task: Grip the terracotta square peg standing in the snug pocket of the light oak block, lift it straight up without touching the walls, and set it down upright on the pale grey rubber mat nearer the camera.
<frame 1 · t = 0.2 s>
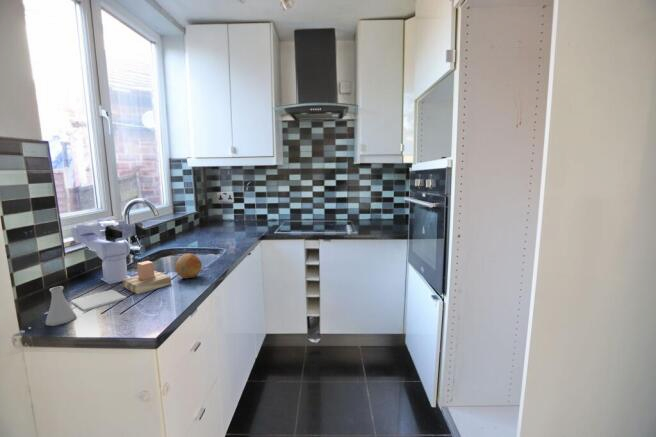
hand: (133, 233, 112), 21 cm above the counter, tool horizontal, fingers open, 7 cm apart
pocket block: (147, 285, 120), on the counter
onion: (189, 278, 128), on the counter
peg: (146, 274, 119), in the pocket block
flask: (61, 321, 93), on the counter
mat: (99, 300, 107), on the counter
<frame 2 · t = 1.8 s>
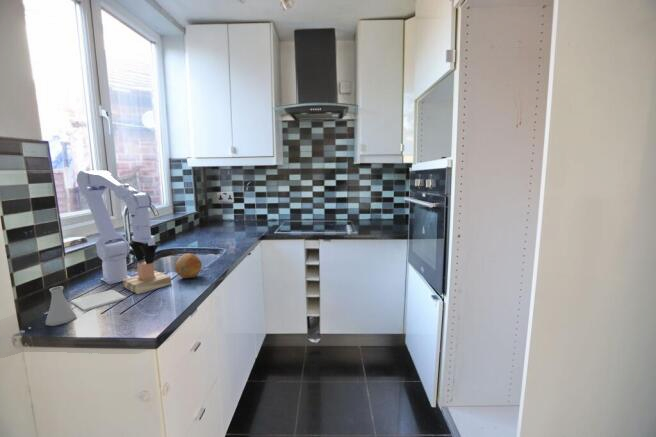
hand: (145, 261, 119), 9 cm above the counter, tool pointing down, fingers open, 7 cm apart
nothing on the counter moved.
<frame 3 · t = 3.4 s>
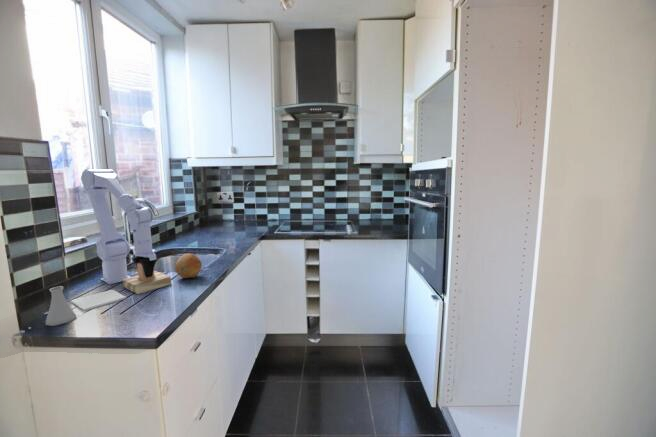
hand: (146, 275, 119), 4 cm above the counter, tool pointing down, fingers closed on peg, 4 cm apart
peg: (146, 274, 119), in the pocket block, touching gripper
everything else where it was.
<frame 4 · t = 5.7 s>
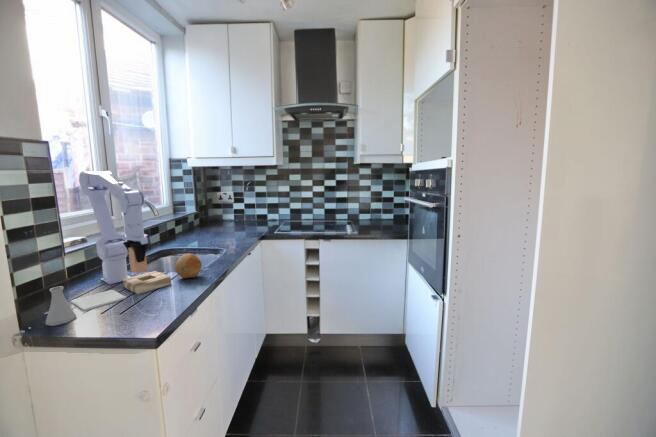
hand: (137, 260, 116), 10 cm above the counter, tool pointing down, fingers closed on peg, 4 cm apart
peg: (137, 259, 116), point 11 cm above the counter, touching gripper
everything else where it was.
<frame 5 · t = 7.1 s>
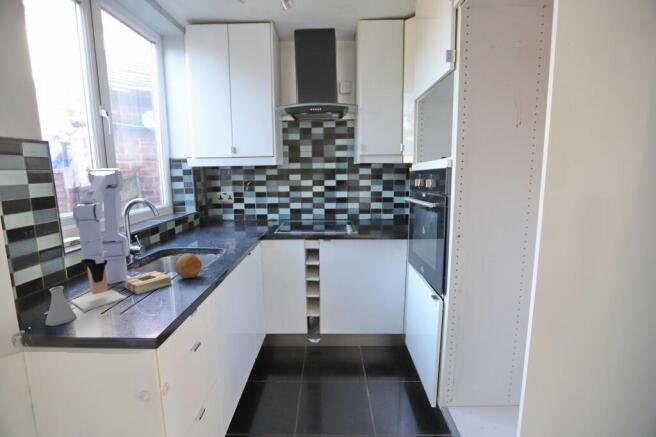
hand: (96, 280, 106), 7 cm above the counter, tool pointing down, fingers closed on peg, 4 cm apart
peg: (97, 278, 106), point 8 cm above the counter, touching gripper
everything else where it was.
when the fingers open (6 cm above the counter, at t = 8.2 s): peg drops 1 cm, resting on mat.
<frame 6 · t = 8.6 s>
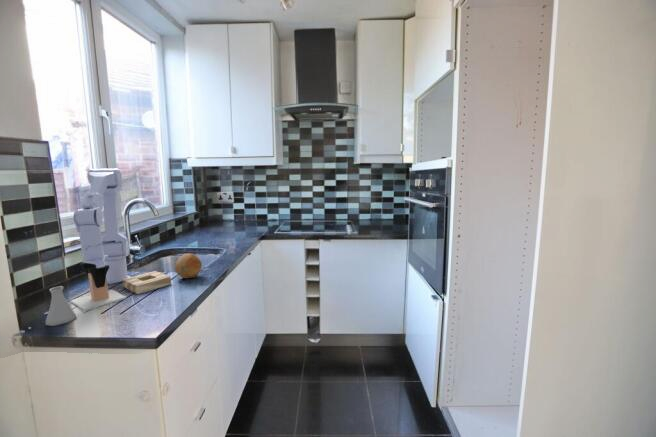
hand: (97, 284, 106), 6 cm above the counter, tool pointing down, fingers open, 7 cm apart
peg: (98, 285, 106), on the mat, point 5 cm above the counter
everything else where it was.
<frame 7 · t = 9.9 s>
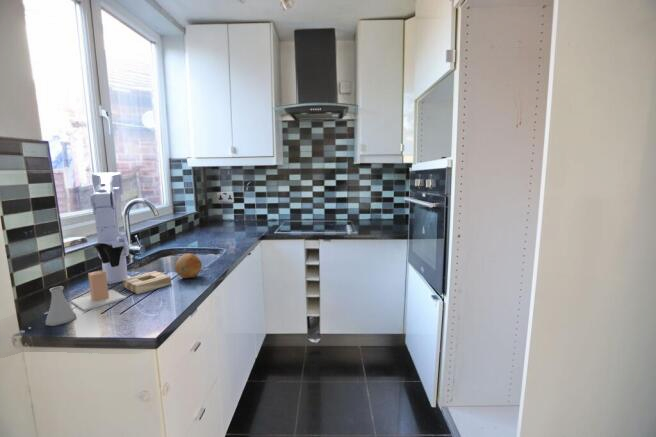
hand: (110, 264, 112), 10 cm above the counter, tool pointing down, fingers open, 7 cm apart
nothing on the counter moved.
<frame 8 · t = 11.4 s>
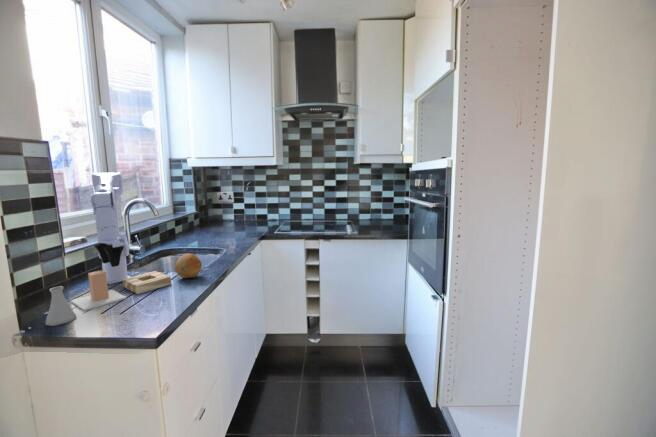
hand: (111, 264, 112), 10 cm above the counter, tool pointing down, fingers open, 7 cm apart
nothing on the counter moved.
at the end: peg 0.4 cm off-centre on the mat, point 5.1 cm above the mat's base; peg tilted 0°; the gripper is holding nothing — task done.
